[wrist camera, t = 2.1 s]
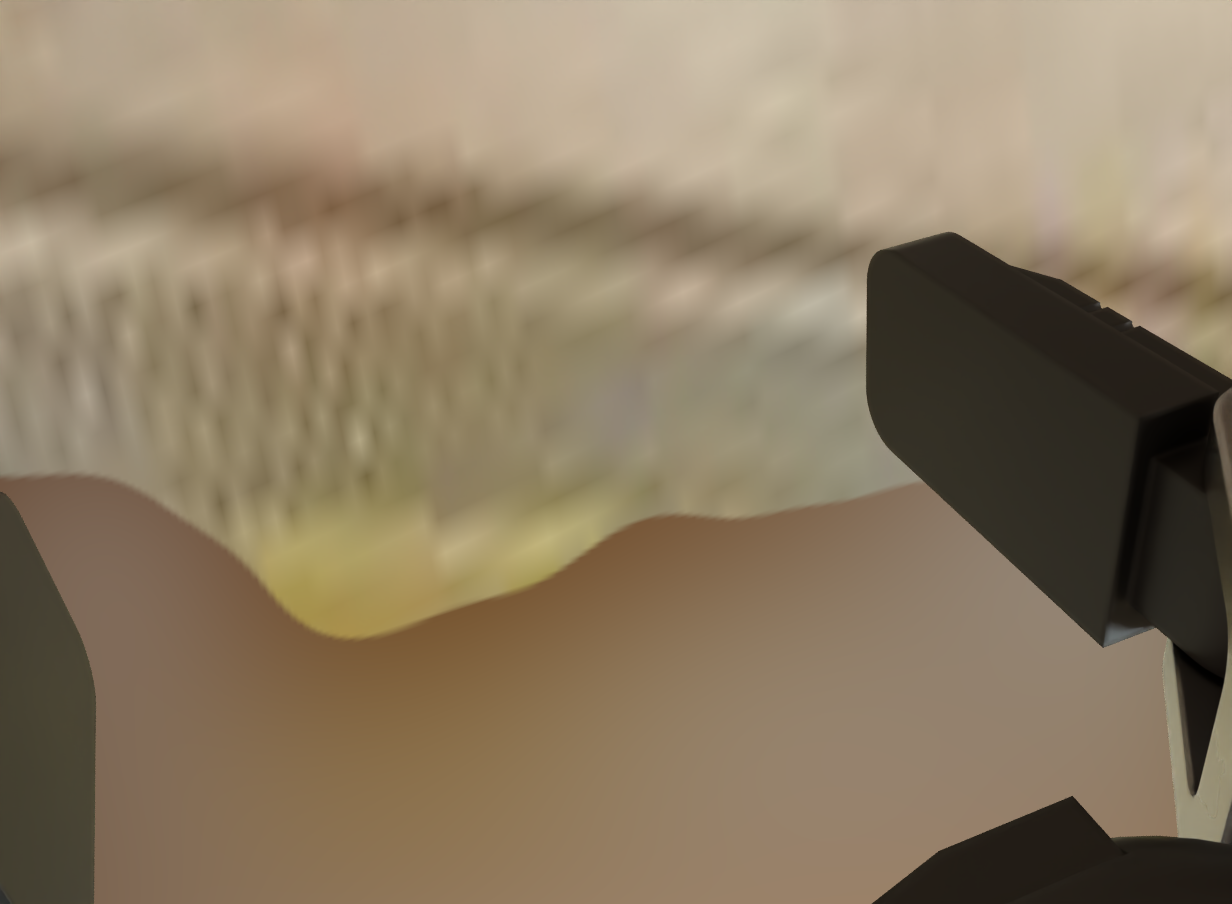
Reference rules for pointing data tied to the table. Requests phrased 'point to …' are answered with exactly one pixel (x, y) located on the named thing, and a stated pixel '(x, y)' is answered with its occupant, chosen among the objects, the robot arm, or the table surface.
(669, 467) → the table surface
